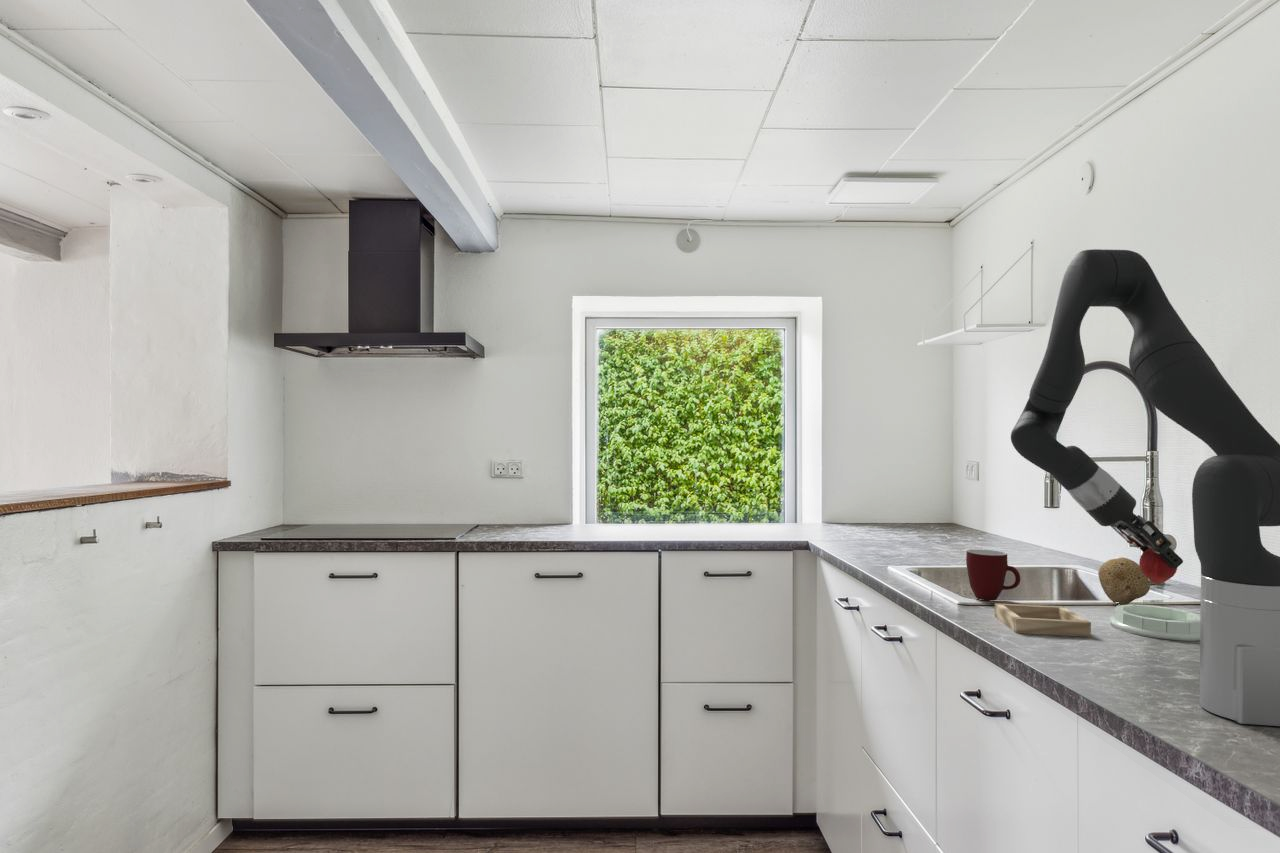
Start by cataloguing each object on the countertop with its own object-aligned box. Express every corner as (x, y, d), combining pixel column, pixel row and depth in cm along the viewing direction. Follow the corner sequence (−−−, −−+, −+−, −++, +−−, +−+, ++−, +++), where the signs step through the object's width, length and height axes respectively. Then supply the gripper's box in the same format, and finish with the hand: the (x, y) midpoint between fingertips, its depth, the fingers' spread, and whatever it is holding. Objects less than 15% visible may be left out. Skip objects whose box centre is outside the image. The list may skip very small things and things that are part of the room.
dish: (1228, 642, 130) (1228, 625, 130) (1133, 638, 133) (1134, 620, 133) (1180, 621, 145) (1180, 605, 145) (1096, 617, 147) (1096, 601, 147)
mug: (1018, 598, 164) (1019, 552, 164) (1021, 605, 156) (1021, 557, 156) (965, 593, 168) (966, 548, 168) (965, 600, 161) (966, 553, 161)
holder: (1090, 636, 133) (1090, 622, 133) (1015, 632, 135) (1016, 618, 135) (1062, 619, 145) (1062, 606, 145) (994, 615, 147) (994, 603, 147)
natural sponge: (1140, 602, 161) (1141, 555, 161) (1156, 612, 153) (1157, 562, 153) (1092, 599, 164) (1093, 553, 164) (1106, 608, 155) (1106, 560, 155)
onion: (1183, 588, 136) (1184, 544, 136) (1147, 586, 137) (1148, 542, 137) (1167, 582, 141) (1168, 539, 141) (1133, 580, 142) (1134, 538, 142)
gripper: (1134, 484, 133) (1208, 555, 131) (1098, 478, 147) (1164, 542, 145) (1101, 513, 134) (1173, 583, 132) (1068, 505, 148) (1133, 568, 146)
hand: (1168, 561), depth 139 cm, fingers closed on onion, 6 cm apart
